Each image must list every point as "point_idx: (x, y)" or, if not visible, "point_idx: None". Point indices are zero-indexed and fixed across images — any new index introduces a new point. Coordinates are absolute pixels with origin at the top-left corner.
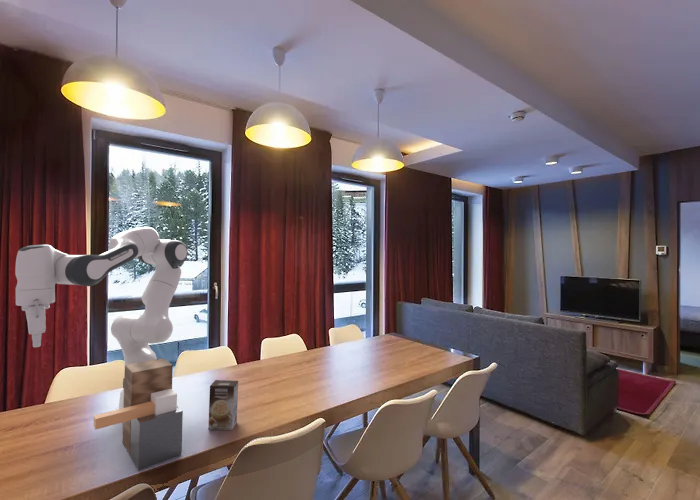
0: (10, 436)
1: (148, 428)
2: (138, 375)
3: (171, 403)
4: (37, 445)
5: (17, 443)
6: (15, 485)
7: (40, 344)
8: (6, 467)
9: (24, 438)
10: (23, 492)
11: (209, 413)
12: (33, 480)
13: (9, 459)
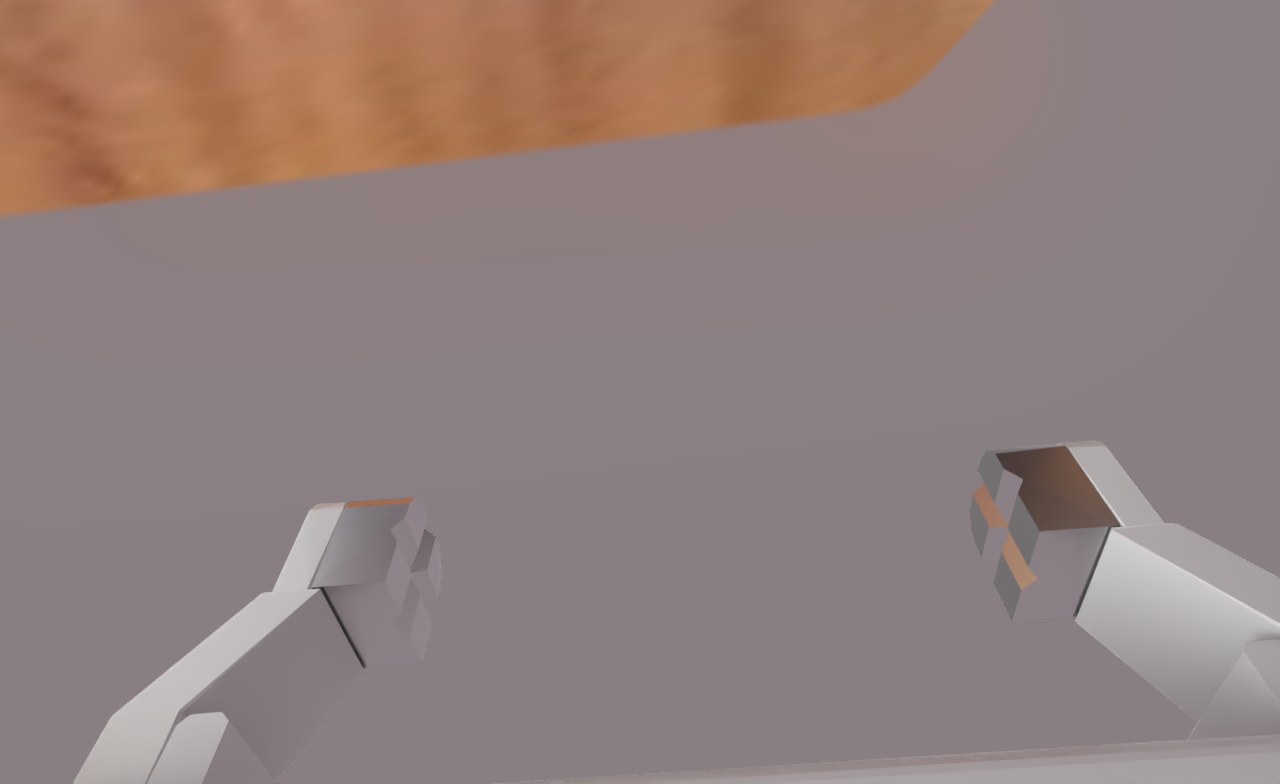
0: (217, 168)
1: None
2: None
3: None
4: (416, 21)
5: (335, 124)
6: (843, 76)
7: (1111, 463)
8: (616, 136)
9: (277, 98)
10: (944, 35)
11: None
12: (855, 3)
13: (528, 135)
